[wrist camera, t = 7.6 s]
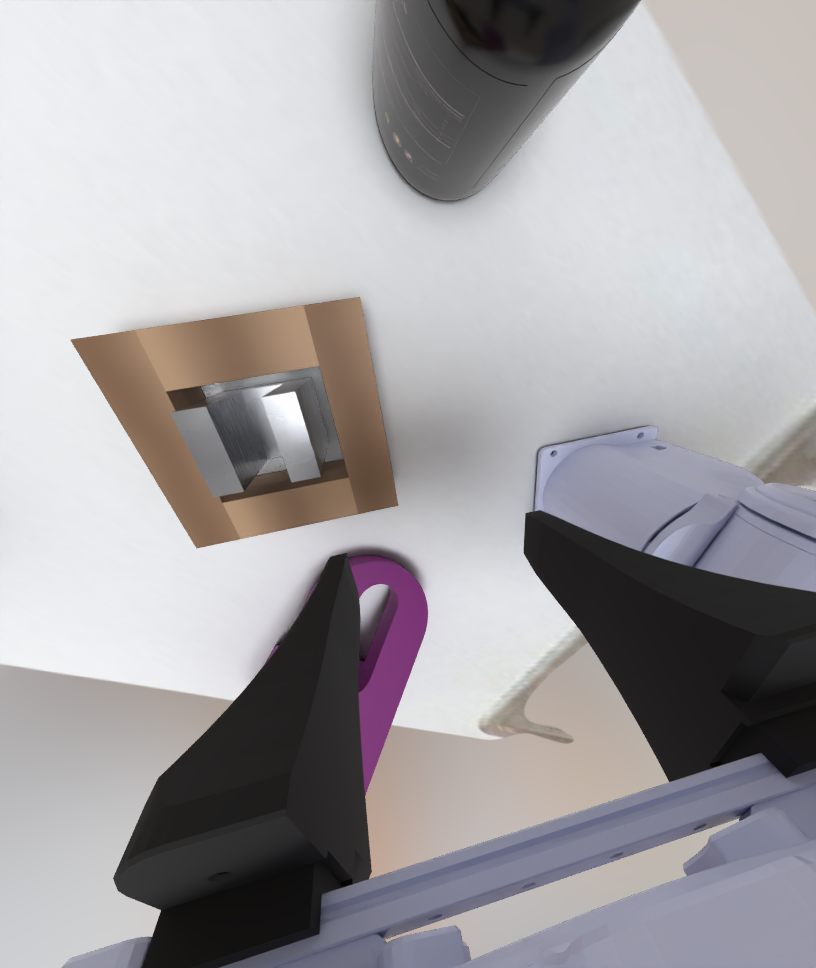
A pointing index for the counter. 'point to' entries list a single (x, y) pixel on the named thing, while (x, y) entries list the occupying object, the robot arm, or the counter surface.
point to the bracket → (255, 433)
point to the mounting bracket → (386, 651)
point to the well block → (237, 355)
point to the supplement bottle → (477, 80)
